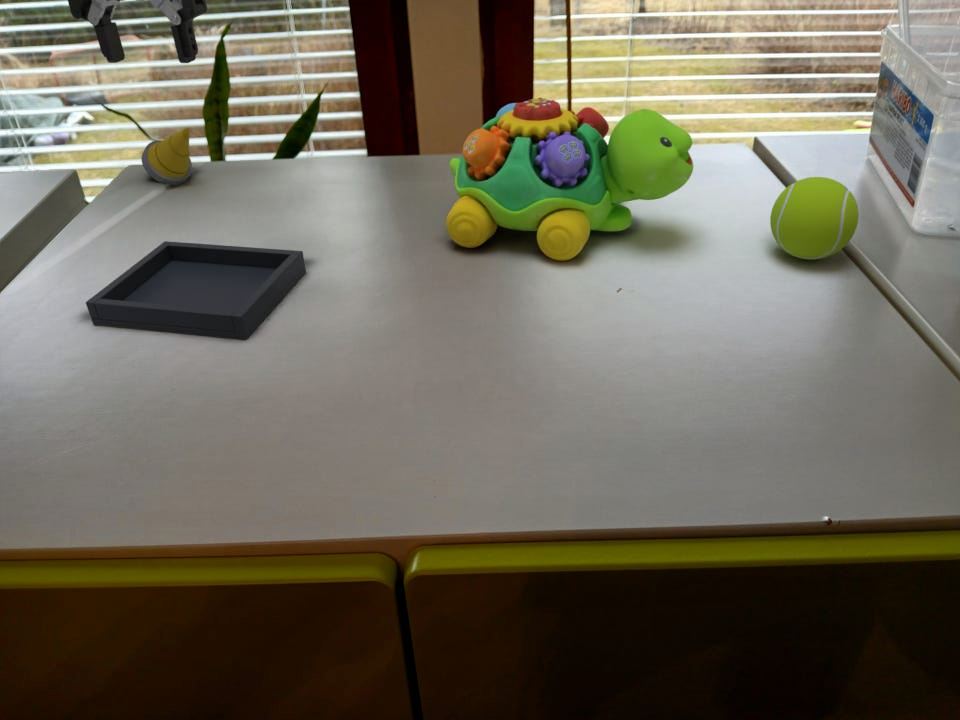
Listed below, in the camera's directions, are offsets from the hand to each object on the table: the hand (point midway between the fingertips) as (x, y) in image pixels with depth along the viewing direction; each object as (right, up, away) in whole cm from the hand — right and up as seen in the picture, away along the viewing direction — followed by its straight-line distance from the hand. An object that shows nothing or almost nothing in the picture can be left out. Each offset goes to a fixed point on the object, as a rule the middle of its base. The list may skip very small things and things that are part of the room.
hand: (152, 61), depth 84 cm
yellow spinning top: (0, -11, +7) cm, 14 cm away
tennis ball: (+64, -23, -14) cm, 69 cm away
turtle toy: (+43, -19, -7) cm, 47 cm away
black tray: (+11, -26, -16) cm, 33 cm away
